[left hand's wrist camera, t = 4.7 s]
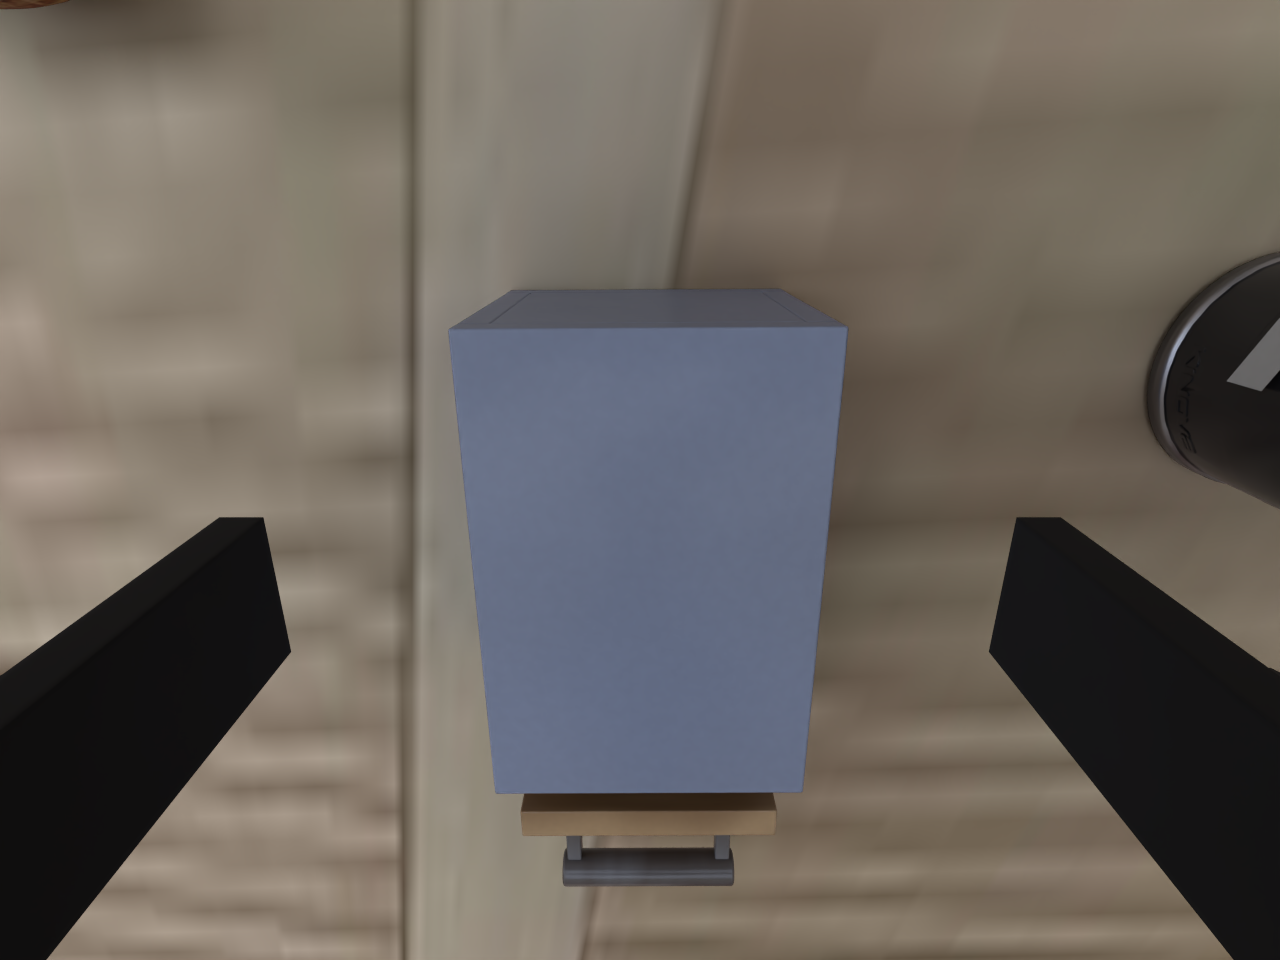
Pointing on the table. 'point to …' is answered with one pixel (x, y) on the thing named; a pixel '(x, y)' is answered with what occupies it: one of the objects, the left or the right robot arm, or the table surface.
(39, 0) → the seashell
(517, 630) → the cabinet
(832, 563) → the table surface
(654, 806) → the drawer
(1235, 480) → the right robot arm
